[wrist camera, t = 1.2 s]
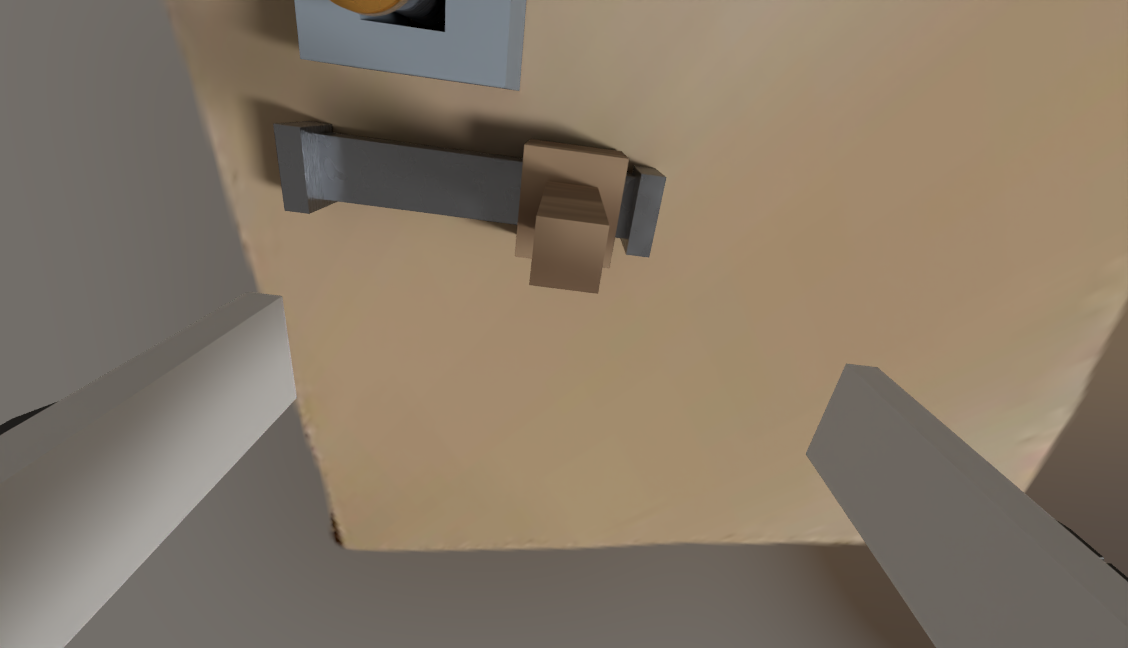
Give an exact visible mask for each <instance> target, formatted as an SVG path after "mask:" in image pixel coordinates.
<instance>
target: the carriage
mask: <svg viewBox="0 0 1128 648" xmlns="http://www.w3.org/2000/svg"><path fill="white" fill-rule="evenodd" d="M628 162H629V158H628V157H627V156H626V155H625V154H624V153H623V152H622V151H615V150H608V149H601V148H594V147H586V146H579V145H572V144H565V143H557V142H550V141H543V140H536V139H530V140H529V141H528V142H527V143H525V144H524V154H523V166H522V177H521V189H520V201H519V213H518V225H517V236H516V248H515V256H516V257H524V258H532V263H531V273H530V283H529V285H533V286H541V287H549V288H557V289H565V290H573V291H581V292H589V293H597V294H598V290H599V284H600V278H601V273H602V267H603V268H610V263H611V257H612V251H613V246H614V240H615V235H616V229H617V223H618V218H619V212H620V207H621V201H622V195H623V190H624V184H625V179H626V173H627V167H628Z"/></svg>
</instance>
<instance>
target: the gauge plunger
mask: <svg viewBox="0 0 1128 648" xmlns="http://www.w3.org/2000/svg"><path fill="white" fill-rule="evenodd" d="M330 1H331V2H333V3H334V4H336V5H338V6H340V7H342V8H345V9H347V10H350V11H352V12H355V13H358V14H361V15H365V16H382V15H386V14H390V13H392V12H394V11H395V12H397V13H399V14H401V15H403V16H405V17H407V18H409V19H411V20H413V21H415V22H417V23H419V24H422V25H434V24H437V23H439V22H441V21H442V20H444V19H445V6H446V0H330Z"/></svg>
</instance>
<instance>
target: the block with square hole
mask: <svg viewBox="0 0 1128 648" xmlns="http://www.w3.org/2000/svg"><path fill="white" fill-rule="evenodd" d="M294 1H295V11H296V21H297V30H298V40H299V50H300V59H305V60H311V61H318V62H324V63H330V64H337V65H343V66H350V67H356V68H363V69H370V70H377V71H384V72H391V73H398V74H405V75H412V76H419V77H426V78H433V79H440V80H447V81H454V82H461V83H468V84H475V85H482V86H489V87H496V88H503V89H510V90H517V91H519V89H520V76H521V63H522V50H523V37H524V24H525V11H526V0H446V6H445V32H441V31H434V30H427V29H420V28H414V27H407V17H405V16H403V15H401V14H399V13H397V12H395V11H394V12H392V13H390V14H386V15H382V16H365V15H361V14H358V13H355V12H352V11H350V10H347V9H345V8H342V7H340V6H338V5H336V4H334V3H333V2H331V1H330V0H294Z"/></svg>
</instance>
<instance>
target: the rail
mask: <svg viewBox="0 0 1128 648" xmlns="http://www.w3.org/2000/svg"><path fill="white" fill-rule="evenodd" d="M273 125H274V133H275V141H276V148H277V156H278V163H279V171H280V178H281V186H282V194H283V201H284V209H285V211H292V212H300V213H308V214H310V213H312V212H314V211H317V210H319V209H321V208H324V207H326V206H328V205H331V204H333V203H335V202H338V201H339V202H347V203H355V204H363V205H370V206H378V207H386V208H393V209H401V210H409V211H416V212H424V213H432V214H439V215H447V216H455V217H462V218H470V219H478V220H485V221H493V222H501V223H509V224H516V225H518V213H519V201H520V189H521V177H522V166H523V158H517V157H510V156H502V155H495V154H488V153H480V152H473V151H466V150H458V149H451V148H444V147H436V146H429V145H422V144H414V143H407V142H400V141H392V140H385V139H378V138H370V137H363V136H356V135H348V134H341V133H334V132H333V130H332V124H327V123H320V122H312V121H302V122H289V123H276V124H273ZM665 181H666V177H665V176H664V175H663V174H662V173H660V172H659V171H658V170H657V169H655V168H648V167H641V166H634V165H633V171H632V173H626V179H625V184H624V190H623V195H622V201H621V207H620V212H619V218H618V223H617V229H616V235H615V237H616V238H620V239H621V242H622V244H623V247H624V250H625V253H626V255H634V256H642V257H649V256H650V251H651V246H652V242H653V237H654V232H655V228H656V223H657V219H658V214H659V209H660V205H661V200H662V195H663V191H664V186H665Z"/></svg>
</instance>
